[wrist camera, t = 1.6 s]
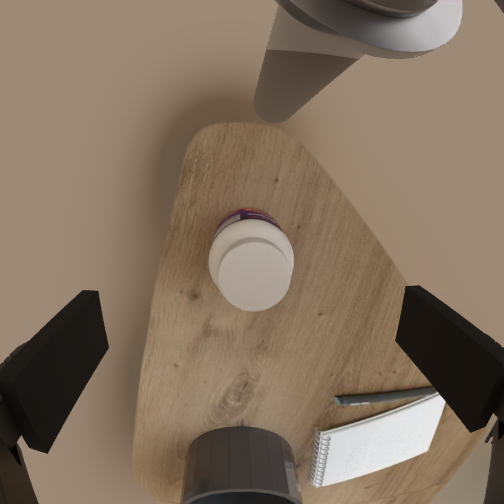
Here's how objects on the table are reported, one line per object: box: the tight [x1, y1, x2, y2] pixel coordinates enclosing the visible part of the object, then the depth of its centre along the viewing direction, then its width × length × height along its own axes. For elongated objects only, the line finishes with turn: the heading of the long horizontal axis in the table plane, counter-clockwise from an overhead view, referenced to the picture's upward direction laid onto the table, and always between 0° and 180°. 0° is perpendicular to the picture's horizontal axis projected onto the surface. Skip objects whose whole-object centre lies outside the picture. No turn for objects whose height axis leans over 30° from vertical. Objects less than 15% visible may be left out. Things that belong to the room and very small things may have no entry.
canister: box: [180, 427, 303, 504], centre depth 29 cm, size 13×13×9 cm
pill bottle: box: [208, 208, 294, 312], centre depth 22 cm, size 5×5×10 cm
